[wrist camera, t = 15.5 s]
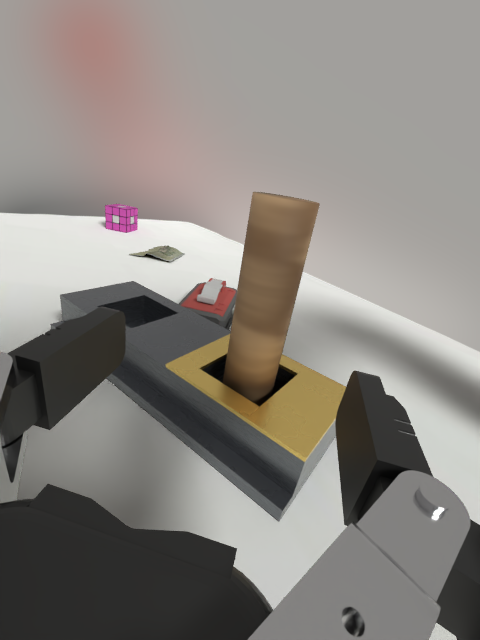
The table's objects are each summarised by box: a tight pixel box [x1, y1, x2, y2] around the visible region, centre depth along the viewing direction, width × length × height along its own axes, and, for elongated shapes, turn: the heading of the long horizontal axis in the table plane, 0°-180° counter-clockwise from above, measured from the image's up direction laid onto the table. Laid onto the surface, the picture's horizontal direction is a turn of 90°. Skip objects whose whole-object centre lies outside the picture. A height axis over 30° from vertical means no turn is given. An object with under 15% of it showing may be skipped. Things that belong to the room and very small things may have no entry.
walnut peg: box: [223, 192, 319, 407], centre depth 22 cm, size 4×4×16 cm
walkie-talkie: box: [179, 278, 237, 330], centre depth 43 cm, size 9×4×20 cm
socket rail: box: [51, 281, 346, 521], centre depth 28 cm, size 11×28×4 cm, turn 52°
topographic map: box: [129, 246, 184, 261], centre depth 66 cm, size 14×14×2 cm
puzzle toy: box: [105, 204, 138, 233], centre depth 79 cm, size 6×6×6 cm
